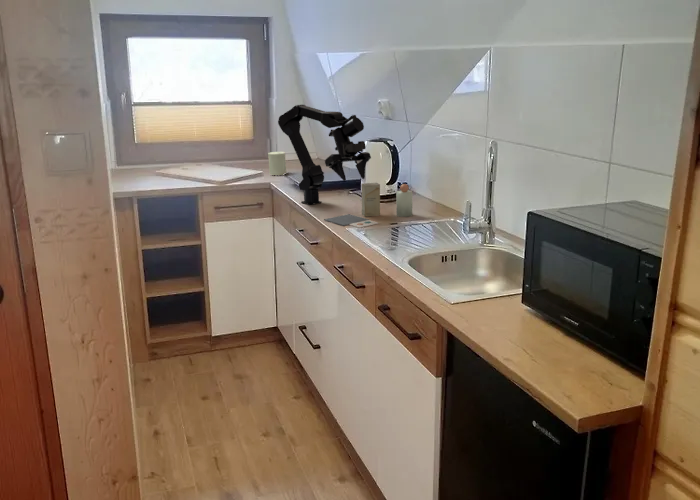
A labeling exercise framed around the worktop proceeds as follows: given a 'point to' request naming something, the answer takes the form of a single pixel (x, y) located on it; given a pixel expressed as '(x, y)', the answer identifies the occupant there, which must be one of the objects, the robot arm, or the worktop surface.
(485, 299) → the worktop surface
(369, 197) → the skincare box
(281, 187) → the worktop surface
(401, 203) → the perfume bottle
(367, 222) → the card
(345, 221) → the mat
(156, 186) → the worktop surface
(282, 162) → the can
